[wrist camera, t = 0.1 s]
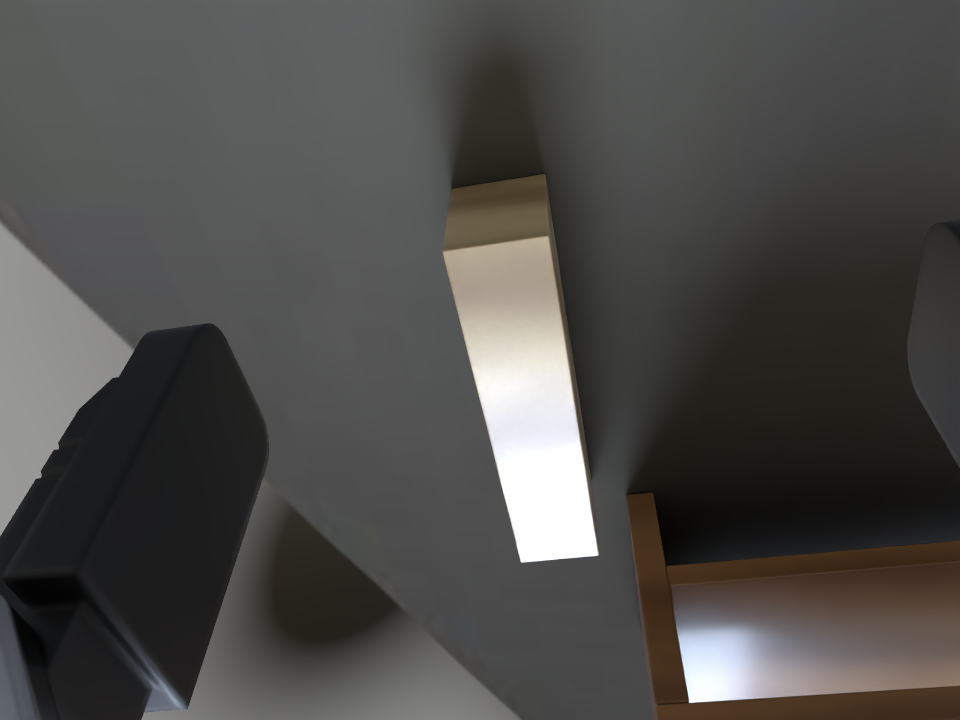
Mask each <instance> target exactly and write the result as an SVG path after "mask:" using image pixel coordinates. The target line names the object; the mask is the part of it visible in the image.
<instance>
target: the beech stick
mask: <svg viewBox="0 0 960 720" xmlns="http://www.w3.org/2000/svg"><path fill="white" fill-rule="evenodd" d="M442 252H443V256H444V260H445V264H446V268H447V272H448V276H449V280H450V284H451V288H452V292H453V296H454V300H455V304H456V308H457V312H458V316H459V320H460V324H461V328H462V332H463V335H464V339H465V343H466V347H467V351H468V355H469V359H470V363H471V367H472V371H473V375H474V379H475V383H476V387H477V391H478V395H479V399H480V403H481V407H482V411H483V415H484V418H485V422H486V426H487V430H488V434H489V438H490V442H491V446H492V450H493V454H494V458H495V462H496V466H497V470H498V474H499V478H500V482H501V486H502V490H503V494H504V498H505V501H506V505H507V509H508V513H509V517H510V521H511V525H512V529H513V533H514V537H515V541H516V545H517V549H518V553H519V557H520V561H521V562H531V561H542V560H553V559H565V558H576V557H587V556H598V555H599V548H598V538H597V528H596V518H595V508H594V498H593V488H592V479H591V472H590V466H589V459H588V453H587V446H586V440H585V433H584V426H583V420H582V413H581V407H580V400H579V393H578V387H577V380H576V374H575V367H574V361H573V354H572V347H571V341H570V334H569V328H568V321H567V314H566V308H565V301H564V295H563V288H562V282H561V275H560V268H559V262H558V255H557V249H556V242H555V235H554V229H553V222H552V216H551V209H550V203H549V196H548V189H547V183H546V176H545V174H542V175H536V176H529V177H523V178H517V179H510V180H504V181H498V182H492V183H485V184H479V185H473V186H466V187H460V188H454V189H451V190H450V197H449V205H448V212H447V220H446V227H445V235H444V242H443V250H442Z"/></svg>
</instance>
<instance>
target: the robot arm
mask: <svg viewBox="0 0 960 720" xmlns="http://www.w3.org/2000/svg"><path fill="white" fill-rule="evenodd" d="M907 359H908V367H909V372H910V376H911V380H912V383H913V386H914V389H915V391H916V393H917V395H918V397H919V399H920V401H921V403H922V404H923V406H924V408H925V409H926V411H927V413H928V415H929V416H930V418H931V420H932V422H933V423H934V425H935V427H936V428H937V430H938V432H939V434H940V435H941V437H942V439H943V440H944V442H945V444H946V446H947V447H948V449H949V451H950V452H951V454H952V456H953V458H954V459H955V461H956V463H957V465H958V466H959V468H960V220H955V221H948V222H941V223H936V224H934V225H933V226H932V227H931V228H930V229H929V231H928V233H927V235H926V238H925V241H924V246H923V251H922V257H921V263H920V269H919V275H918V280H917V286H916V292H915V298H914V304H913V310H912V316H911V322H910V327H909V333H908V340H907ZM58 444H59V450H54V451H53V452H52V454H51V455H50V457H49V459H48V460H47V462H46V464H45V465H44V467H43V469H42V470H41V474H42V477H41V478H39V479H36V480H35V481H34V483H33V485H32V486H31V488H30V489H29V491H28V493H27V494H26V496H25V497H24V499H23V501H22V502H21V504H20V506H19V507H18V509H17V510H16V512H15V514H14V515H13V517H12V519H11V520H10V522H9V523H8V525H7V527H6V528H5V530H4V532H3V533H2V535H1V536H0V720H141V719H142V716H143V713H144V712H155V711H171V710H185V709H188V706H189V703H190V700H191V697H192V693H193V691H194V687H195V684H196V681H197V678H198V675H199V672H200V669H201V666H202V663H203V660H204V657H205V654H206V651H207V647H208V645H209V642H210V639H211V635H212V632H213V629H214V626H215V623H216V620H217V617H218V614H219V611H220V608H221V605H222V601H223V598H224V596H225V593H226V590H227V586H228V583H229V580H230V577H231V574H232V571H233V568H234V565H235V562H236V559H237V556H238V553H239V550H240V547H241V543H242V540H243V537H244V534H245V531H246V528H247V525H248V522H249V519H250V516H251V513H252V510H253V507H254V504H255V501H256V498H257V494H258V491H259V488H260V485H261V482H262V479H263V476H264V473H265V470H266V466H267V462H268V455H269V441H268V433H267V428H266V424H265V420H264V417H263V415H262V413H261V411H260V409H259V407H258V404H257V402H256V400H255V398H254V396H253V394H252V392H251V390H250V388H249V386H248V384H247V382H246V379H245V377H244V375H243V373H242V371H241V369H240V367H239V365H238V363H237V361H236V359H235V357H234V355H233V352H232V350H231V348H230V346H229V344H228V342H227V340H226V338H225V336H224V335H223V333H222V332H221V330H220V329H219V328H218V327H216V326H215V325H213V324H210V323H209V324H200V325H193V326H186V327H179V328H172V329H165V330H157V331H151V332H148V333H147V334H145V335H144V336H143V338H142V339H141V340H140V342H139V344H138V346H137V347H136V349H135V351H134V352H133V354H132V356H131V357H130V359H129V361H128V362H127V364H126V366H125V368H124V369H123V371H122V373H121V375H120V376H119V377H117V378H112V379H111V380H110V381H109V382H108V383H107V384H106V385H105V386H104V387H103V388H102V389H101V390H99V391H98V392H97V393H96V394H95V395H94V396H93V397H92V398H91V399H90V400H89V401H88V402H86V403H85V404H84V405H83V406H82V407H81V408H80V409H79V410H78V412H77V413H76V415H75V417H74V419H73V420H72V421H71V423H70V425H69V427H68V428H67V430H66V431H65V433H64V435H63V436H62V438H61V439H60V441H59V443H58Z"/></svg>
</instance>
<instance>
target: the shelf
mask: <svg viewBox="0 0 960 720" xmlns="http://www.w3.org/2000/svg"><path fill="white" fill-rule="evenodd" d="M626 500H627V509H628V518H629V526H630V535H631V544H632V552H633V561H634V569H635V578H636V587H637V595H638V604H639V613H640V621H641V630H642V638H643V645H644V652H645V660H646V667H647V674H648V682H649V689H650V697H651V704H652V711H653V719H654V720H960V541H948V542H937V543H926V544H914V545H903V546H891V547H880V548H868V549H857V550H845V551H834V552H823V553H811V554H800V555H788V556H777V557H765V558H754V559H742V560H731V561H720V562H708V563H697V564H685V565H674V566H667V567H666V564H665V558H664V553H663V547H662V541H661V536H660V530H659V524H658V518H657V513H656V507H655V501H654V495H653V493H641V494H631V495H627V496H626Z"/></svg>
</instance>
